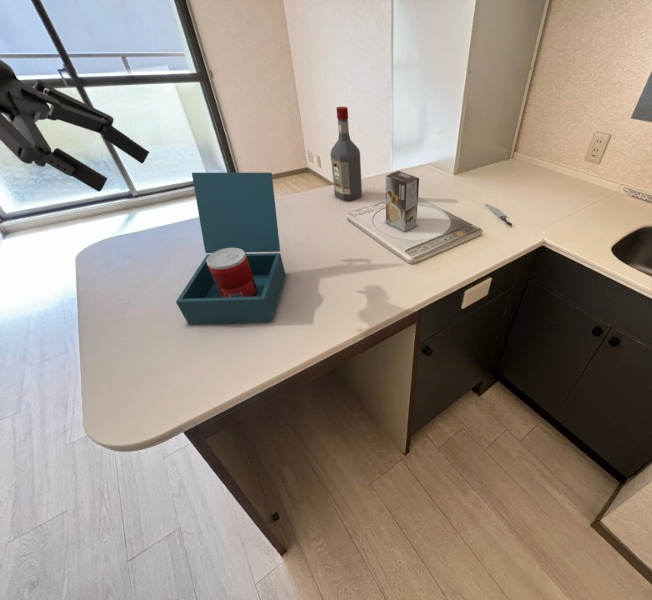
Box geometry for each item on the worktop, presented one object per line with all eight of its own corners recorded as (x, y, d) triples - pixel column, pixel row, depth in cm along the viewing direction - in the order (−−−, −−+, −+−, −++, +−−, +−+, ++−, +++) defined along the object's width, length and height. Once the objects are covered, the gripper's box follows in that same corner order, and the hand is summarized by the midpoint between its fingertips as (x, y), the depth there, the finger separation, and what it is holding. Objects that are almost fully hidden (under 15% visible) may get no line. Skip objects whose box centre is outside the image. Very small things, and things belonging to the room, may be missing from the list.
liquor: (350, 189, 131) (344, 103, 111) (365, 196, 126) (361, 108, 106) (331, 195, 126) (322, 107, 106) (347, 203, 121) (339, 112, 101)
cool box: (271, 322, 73) (264, 298, 69) (188, 325, 72) (175, 301, 67) (285, 275, 86) (280, 253, 82) (216, 276, 85) (206, 254, 80)
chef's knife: (491, 203, 125) (484, 203, 124) (492, 200, 124) (485, 200, 123) (517, 226, 111) (509, 227, 110) (518, 223, 110) (510, 224, 109)
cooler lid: (270, 172, 76) (276, 174, 81) (191, 172, 75) (201, 174, 79) (279, 251, 81) (284, 249, 86) (205, 253, 80) (213, 250, 84)
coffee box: (417, 225, 109) (420, 178, 99) (404, 232, 106) (407, 183, 95) (397, 216, 114) (398, 170, 103) (384, 222, 110) (384, 175, 100)
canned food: (264, 291, 80) (252, 253, 72) (236, 310, 74) (220, 271, 67) (244, 281, 82) (230, 243, 75) (215, 298, 77) (198, 259, 70)
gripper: (22, 74, 57) (151, 162, 68) (-144, 101, 39) (72, 216, 50) (33, 36, 54) (167, 135, 65) (-140, 46, 36) (88, 182, 47)
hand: (126, 170), depth 58 cm, fingers open, 13 cm apart
